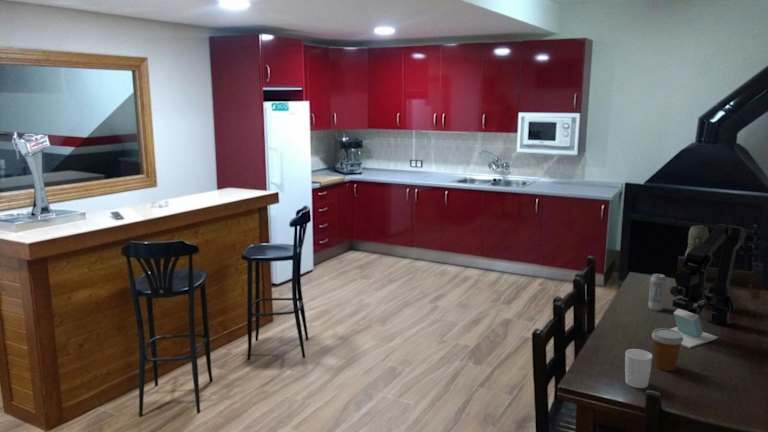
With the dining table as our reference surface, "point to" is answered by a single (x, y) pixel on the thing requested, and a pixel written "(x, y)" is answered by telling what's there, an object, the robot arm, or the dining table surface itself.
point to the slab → (688, 323)
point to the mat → (695, 339)
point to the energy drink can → (657, 292)
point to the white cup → (637, 367)
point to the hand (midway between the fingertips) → (692, 322)
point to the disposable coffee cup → (666, 348)
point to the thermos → (696, 238)
